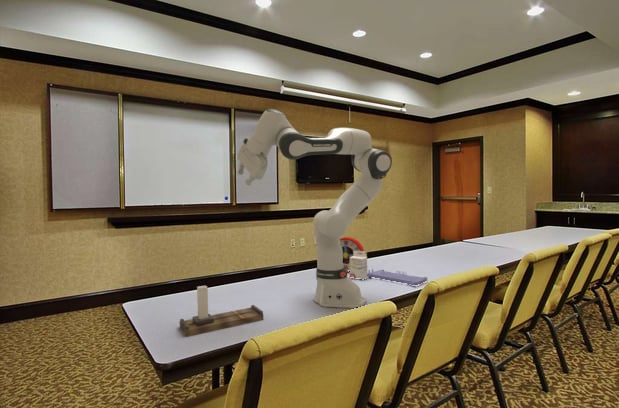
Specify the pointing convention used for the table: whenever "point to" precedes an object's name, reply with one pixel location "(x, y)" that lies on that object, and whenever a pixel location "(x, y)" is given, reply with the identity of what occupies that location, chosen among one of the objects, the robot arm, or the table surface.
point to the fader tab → (202, 307)
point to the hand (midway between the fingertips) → (243, 179)
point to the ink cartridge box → (358, 265)
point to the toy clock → (349, 250)
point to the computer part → (397, 277)
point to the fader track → (223, 321)
